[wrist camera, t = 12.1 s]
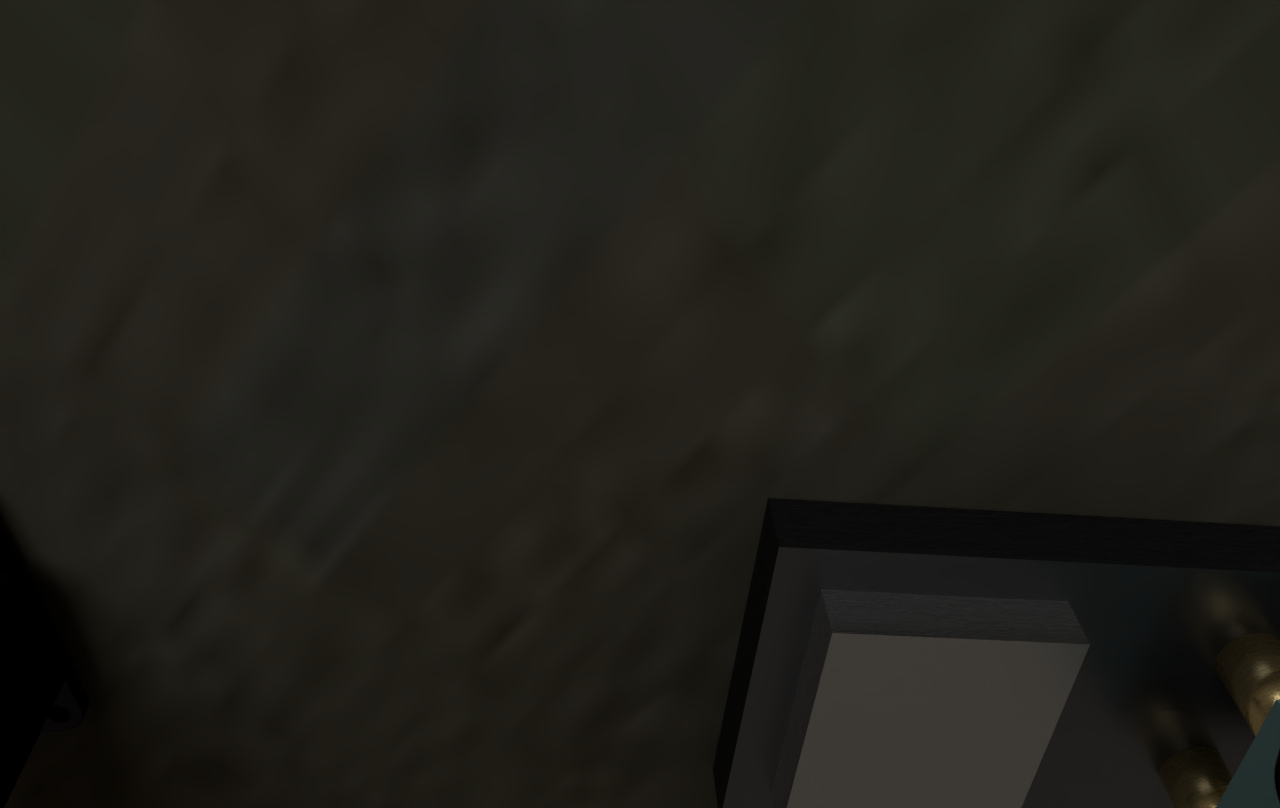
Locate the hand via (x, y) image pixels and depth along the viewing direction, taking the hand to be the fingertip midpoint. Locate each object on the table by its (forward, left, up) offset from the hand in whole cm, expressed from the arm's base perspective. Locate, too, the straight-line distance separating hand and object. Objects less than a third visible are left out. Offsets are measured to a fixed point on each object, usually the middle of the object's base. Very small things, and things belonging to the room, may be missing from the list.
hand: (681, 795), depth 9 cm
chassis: (+9, -13, -13) cm, 21 cm away
